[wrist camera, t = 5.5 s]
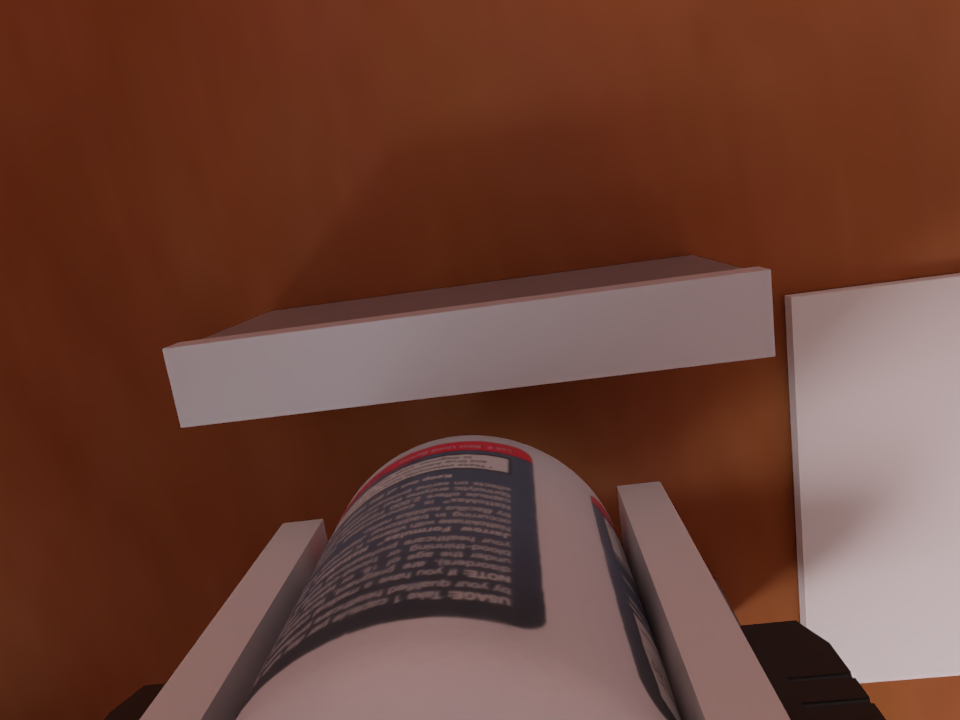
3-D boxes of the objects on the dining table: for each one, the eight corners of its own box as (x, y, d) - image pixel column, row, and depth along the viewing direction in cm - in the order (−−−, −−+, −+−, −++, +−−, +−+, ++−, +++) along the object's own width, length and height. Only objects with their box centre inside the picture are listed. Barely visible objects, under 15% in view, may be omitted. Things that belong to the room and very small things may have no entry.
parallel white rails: (340, 659, 19) (274, 823, 14) (269, 307, 17) (161, 348, 12) (719, 625, 18) (798, 788, 13) (691, 250, 16) (770, 269, 11)
